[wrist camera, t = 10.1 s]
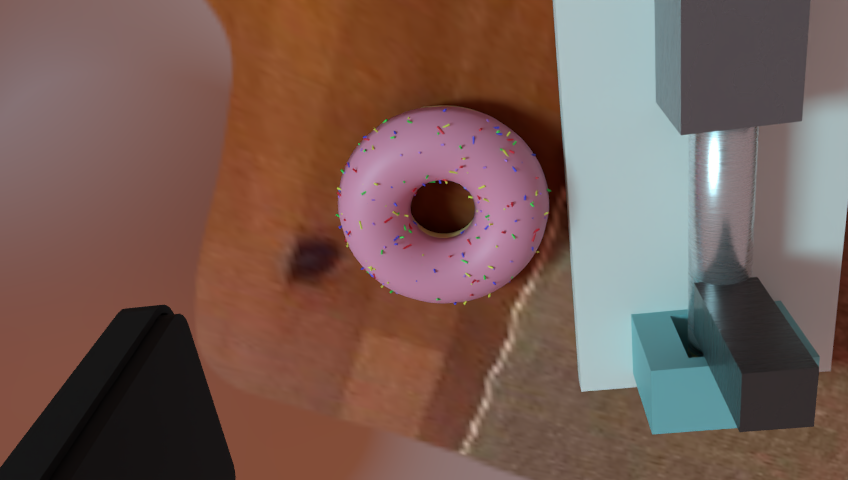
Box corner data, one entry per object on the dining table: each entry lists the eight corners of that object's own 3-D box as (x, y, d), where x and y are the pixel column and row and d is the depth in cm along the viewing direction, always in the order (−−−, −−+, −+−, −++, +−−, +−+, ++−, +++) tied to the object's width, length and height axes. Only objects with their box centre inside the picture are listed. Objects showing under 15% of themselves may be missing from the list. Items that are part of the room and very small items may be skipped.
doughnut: (523, 294, 45) (528, 334, 41) (333, 265, 45) (321, 303, 41) (566, 112, 40) (576, 139, 36) (353, 79, 40) (341, 102, 36)
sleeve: (653, -98, 34) (680, -90, 30) (771, -115, 34) (818, -110, 29) (655, 102, 38) (680, 135, 34) (762, 89, 37) (801, 121, 33)
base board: (540, -183, 34) (542, -184, 33) (878, -237, 32) (893, -241, 31) (578, 379, 47) (581, 391, 46) (822, 358, 45) (830, 370, 44)
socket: (631, 314, 43) (651, 371, 39) (780, 300, 43) (819, 356, 38) (633, 373, 45) (652, 434, 40) (776, 360, 44) (813, 421, 39)
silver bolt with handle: (681, 3, 35) (755, 55, 26) (751, -6, 35) (849, 43, 26) (681, 354, 43) (737, 485, 34) (737, 349, 43) (808, 480, 34)
